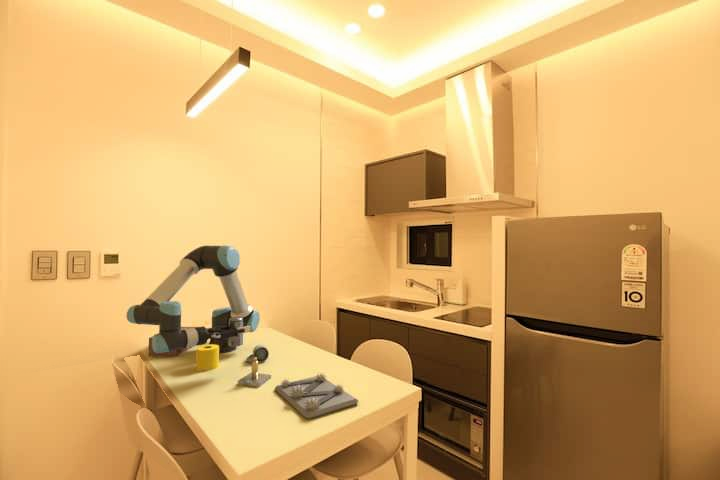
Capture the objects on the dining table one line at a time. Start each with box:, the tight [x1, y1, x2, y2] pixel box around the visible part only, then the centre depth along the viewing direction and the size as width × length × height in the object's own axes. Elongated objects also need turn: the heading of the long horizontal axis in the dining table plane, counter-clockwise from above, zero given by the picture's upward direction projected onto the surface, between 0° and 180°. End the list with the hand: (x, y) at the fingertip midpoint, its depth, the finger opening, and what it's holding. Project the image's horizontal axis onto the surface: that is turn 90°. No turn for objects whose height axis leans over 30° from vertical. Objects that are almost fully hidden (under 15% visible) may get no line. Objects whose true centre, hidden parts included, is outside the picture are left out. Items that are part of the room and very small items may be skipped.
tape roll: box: [195, 344, 220, 372], centre depth 161 cm, size 10×10×9 cm
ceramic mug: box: [246, 344, 270, 364], centre depth 172 cm, size 11×8×8 cm
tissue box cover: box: [148, 326, 197, 358], centre depth 189 cm, size 26×14×10 cm, turn 1°
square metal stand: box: [237, 357, 272, 388], centre depth 144 cm, size 10×10×10 cm
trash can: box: [229, 317, 244, 347], centre depth 155 cm, size 8×6×12 cm
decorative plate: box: [274, 372, 359, 420], centre depth 130 cm, size 30×22×7 cm
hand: (246, 327), depth 158 cm, fingers closed on trash can, 6 cm apart
